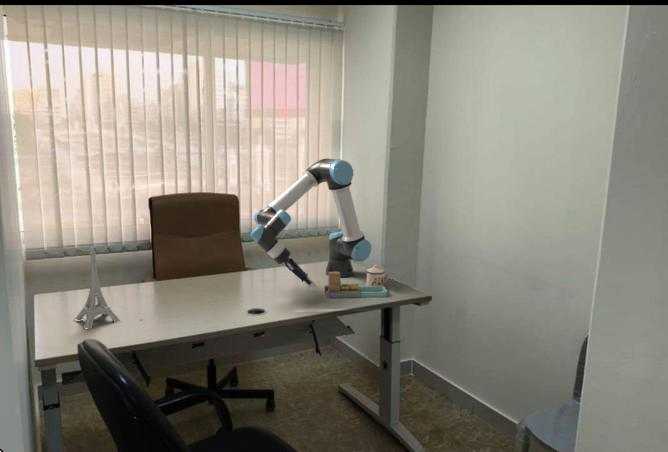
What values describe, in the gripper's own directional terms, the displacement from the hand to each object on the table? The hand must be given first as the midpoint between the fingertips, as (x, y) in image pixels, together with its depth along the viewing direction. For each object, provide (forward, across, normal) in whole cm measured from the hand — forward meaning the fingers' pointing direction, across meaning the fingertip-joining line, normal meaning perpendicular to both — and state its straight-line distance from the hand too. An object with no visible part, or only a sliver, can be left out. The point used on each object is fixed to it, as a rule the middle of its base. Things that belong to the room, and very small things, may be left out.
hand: (315, 287), depth 231 cm
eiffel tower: (-59, +26, -66) cm, 92 cm away
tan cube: (+12, 0, +8) cm, 14 cm away
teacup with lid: (+26, -12, +20) cm, 34 cm away
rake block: (+9, 0, +4) cm, 9 cm away
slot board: (+12, 0, +6) cm, 14 cm away
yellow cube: (+15, 0, +11) cm, 19 cm away
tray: (+22, 0, +16) cm, 27 cm away
